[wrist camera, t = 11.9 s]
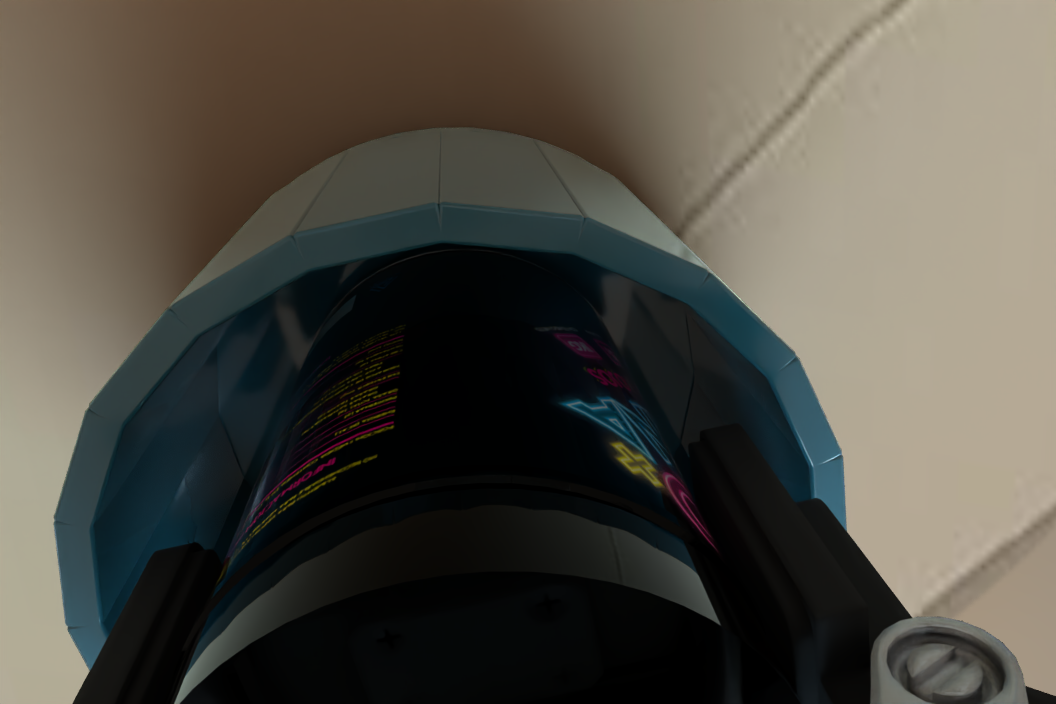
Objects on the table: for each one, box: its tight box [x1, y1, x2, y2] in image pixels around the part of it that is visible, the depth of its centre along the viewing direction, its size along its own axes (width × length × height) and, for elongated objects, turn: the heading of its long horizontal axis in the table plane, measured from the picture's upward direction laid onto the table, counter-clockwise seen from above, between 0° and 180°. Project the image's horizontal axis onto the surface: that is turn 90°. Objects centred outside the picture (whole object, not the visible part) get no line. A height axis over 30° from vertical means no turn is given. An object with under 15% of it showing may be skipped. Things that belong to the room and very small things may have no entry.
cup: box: [54, 127, 847, 671], centre depth 15 cm, size 11×11×7 cm
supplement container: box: [163, 249, 801, 704], centre depth 13 cm, size 7×7×10 cm
